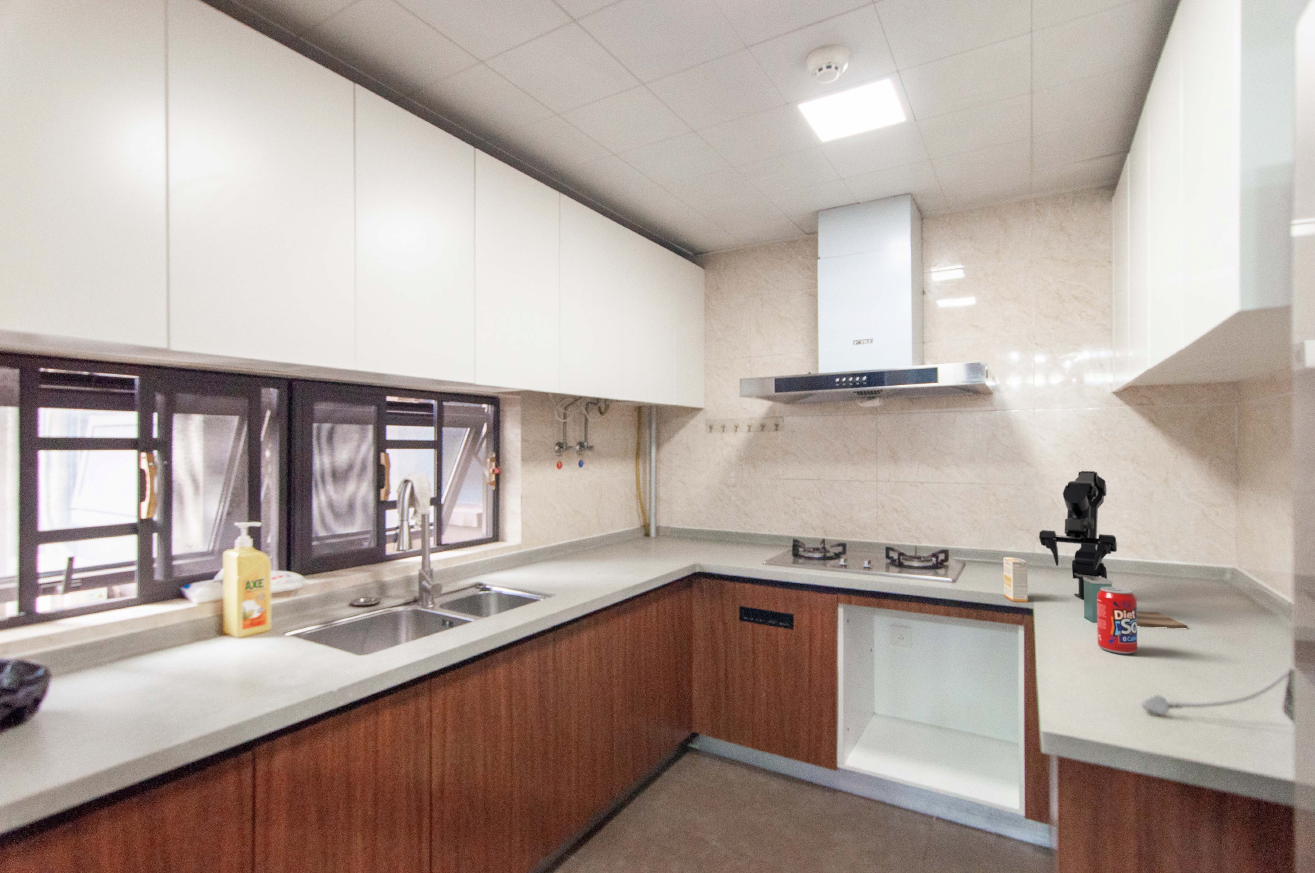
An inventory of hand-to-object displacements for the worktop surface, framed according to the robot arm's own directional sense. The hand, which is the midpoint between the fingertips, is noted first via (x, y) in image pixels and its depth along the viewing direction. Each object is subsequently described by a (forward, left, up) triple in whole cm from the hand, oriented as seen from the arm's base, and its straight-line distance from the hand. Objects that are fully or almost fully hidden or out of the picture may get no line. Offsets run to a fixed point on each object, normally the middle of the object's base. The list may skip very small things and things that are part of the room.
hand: (1075, 567), depth 180 cm
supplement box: (-21, -9, -15) cm, 28 cm away
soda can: (+30, -3, -15) cm, 33 cm away
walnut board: (-1, +18, -15) cm, 24 cm away
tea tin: (+2, +5, -15) cm, 16 cm away
